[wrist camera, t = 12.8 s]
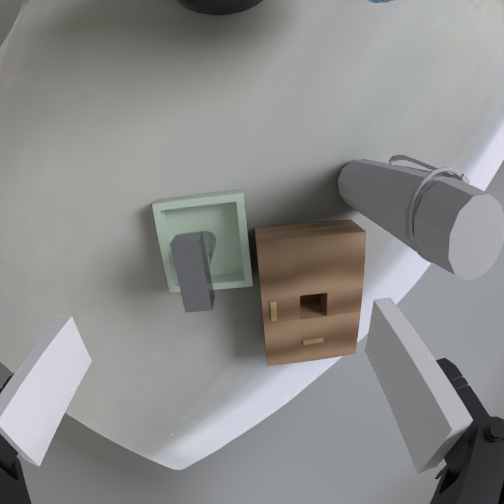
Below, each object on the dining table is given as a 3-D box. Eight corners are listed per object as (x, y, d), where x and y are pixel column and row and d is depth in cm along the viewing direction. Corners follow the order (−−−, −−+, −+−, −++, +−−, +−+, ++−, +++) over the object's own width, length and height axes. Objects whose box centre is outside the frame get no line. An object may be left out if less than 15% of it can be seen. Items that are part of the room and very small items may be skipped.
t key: (200, 268, 43) (185, 312, 31) (190, 214, 40) (169, 243, 29) (220, 265, 43) (212, 310, 31) (211, 211, 40) (198, 239, 29)
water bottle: (363, 218, 41) (471, 303, 18) (323, 187, 39) (421, 250, 16) (397, 170, 39) (527, 211, 15) (359, 136, 37) (488, 142, 13)
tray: (158, 199, 39) (151, 204, 37) (243, 189, 39) (243, 193, 36) (174, 283, 44) (169, 293, 41) (252, 276, 44) (252, 286, 41)
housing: (254, 227, 41) (256, 241, 35) (350, 219, 41) (366, 232, 35) (264, 342, 48) (267, 366, 43) (344, 332, 48) (355, 354, 42)
